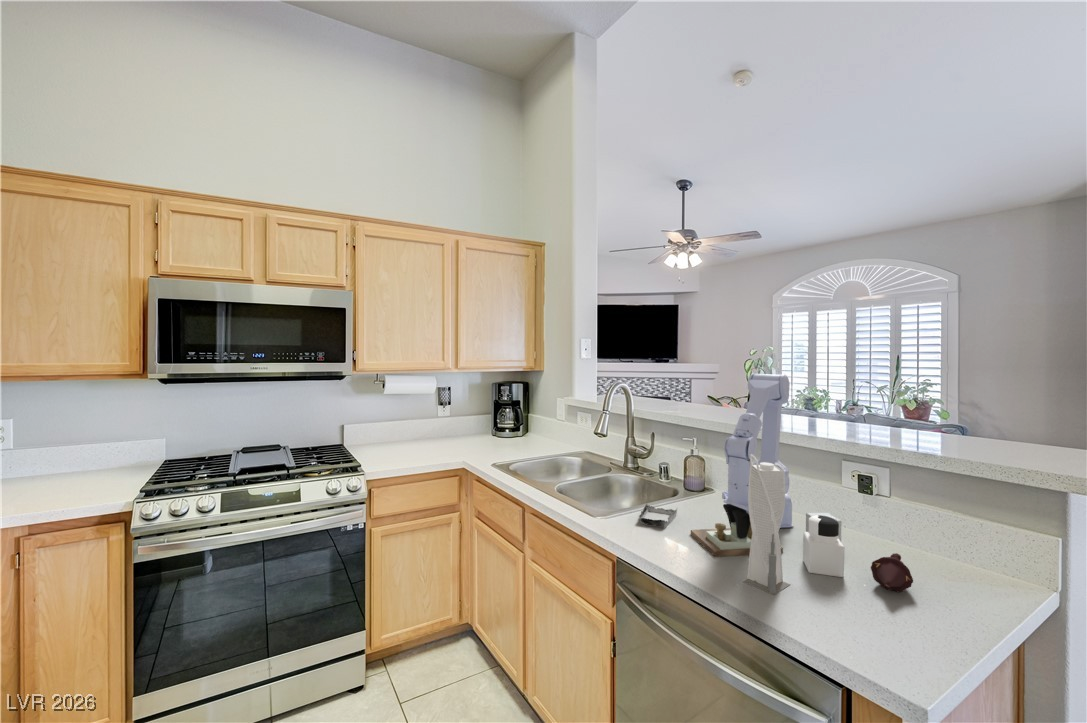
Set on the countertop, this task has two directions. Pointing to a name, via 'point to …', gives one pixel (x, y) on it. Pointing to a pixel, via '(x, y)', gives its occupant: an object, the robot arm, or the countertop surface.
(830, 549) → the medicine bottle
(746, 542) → the panel
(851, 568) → the countertop surface
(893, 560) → the dark maroon knobbed disc
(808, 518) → the skincare box
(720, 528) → the board
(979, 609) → the countertop surface
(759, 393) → the robot arm
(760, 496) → the skyscraper
